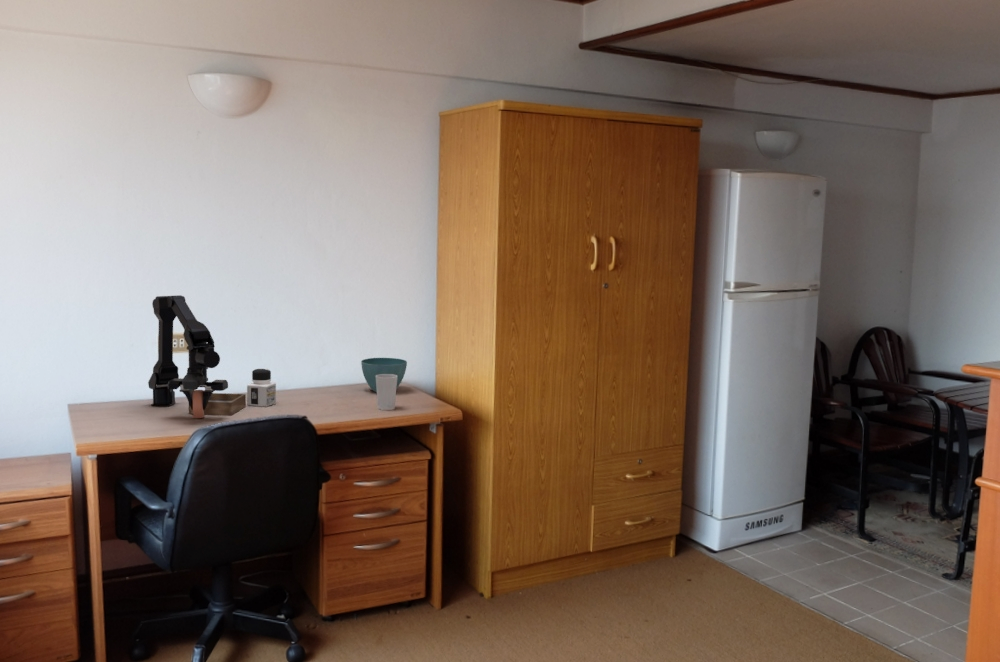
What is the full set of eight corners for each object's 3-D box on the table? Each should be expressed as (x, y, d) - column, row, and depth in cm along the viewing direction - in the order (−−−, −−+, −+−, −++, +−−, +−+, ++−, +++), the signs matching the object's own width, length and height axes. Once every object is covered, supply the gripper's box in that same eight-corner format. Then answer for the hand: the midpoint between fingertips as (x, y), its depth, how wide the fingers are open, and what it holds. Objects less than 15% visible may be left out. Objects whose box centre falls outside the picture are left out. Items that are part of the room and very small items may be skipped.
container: (266, 407, 311) (266, 371, 310) (246, 405, 313) (246, 370, 311) (276, 402, 319) (276, 368, 317) (257, 401, 320) (256, 367, 319)
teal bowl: (414, 389, 351) (415, 360, 350) (391, 397, 335) (391, 366, 333) (376, 385, 358) (377, 356, 357) (352, 392, 342) (352, 362, 340)
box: (188, 413, 297) (188, 401, 296) (204, 404, 312) (204, 392, 311) (231, 415, 296) (231, 402, 296) (245, 406, 311) (245, 394, 311)
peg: (191, 417, 289) (190, 391, 288) (195, 415, 293) (194, 389, 292) (201, 418, 289) (201, 392, 288) (205, 415, 293) (205, 390, 292)
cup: (401, 407, 317) (401, 375, 315) (389, 411, 309) (390, 378, 308) (382, 405, 320) (383, 373, 318) (370, 408, 313) (371, 376, 311)
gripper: (160, 367, 281) (161, 413, 283) (216, 368, 281) (217, 415, 283) (173, 361, 292) (174, 406, 294) (228, 363, 292) (228, 408, 294)
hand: (198, 409), depth 291 cm, fingers closed on peg, 4 cm apart
